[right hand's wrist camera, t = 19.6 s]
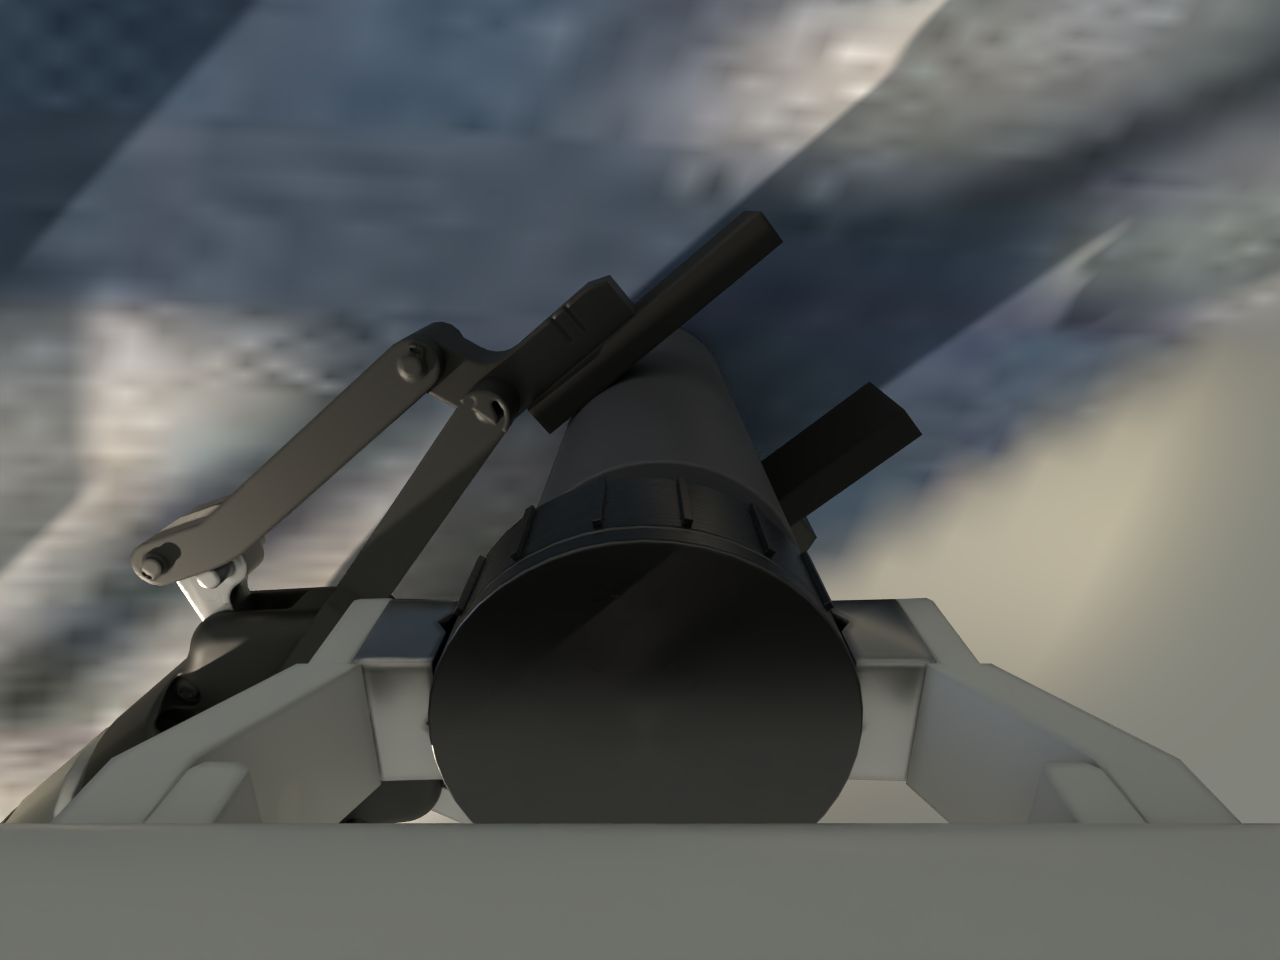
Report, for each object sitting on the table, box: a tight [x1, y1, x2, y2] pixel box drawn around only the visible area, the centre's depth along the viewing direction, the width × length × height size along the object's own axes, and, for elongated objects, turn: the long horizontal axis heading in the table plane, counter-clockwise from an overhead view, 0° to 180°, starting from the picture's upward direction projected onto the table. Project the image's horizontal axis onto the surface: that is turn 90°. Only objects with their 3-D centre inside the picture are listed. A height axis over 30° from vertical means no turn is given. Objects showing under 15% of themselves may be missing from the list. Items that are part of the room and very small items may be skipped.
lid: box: [428, 476, 863, 823], centre depth 9 cm, size 5×5×2 cm
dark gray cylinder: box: [537, 328, 800, 552], centre depth 17 cm, size 5×5×15 cm
